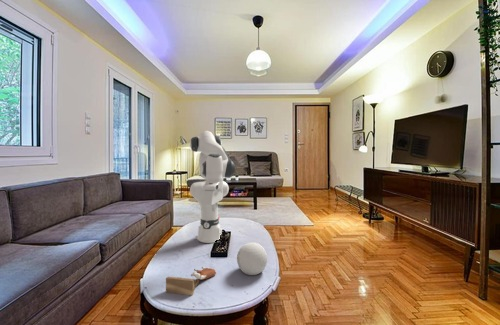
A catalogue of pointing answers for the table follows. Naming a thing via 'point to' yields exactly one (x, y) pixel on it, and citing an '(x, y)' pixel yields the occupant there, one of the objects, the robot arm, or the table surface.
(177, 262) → the table surface
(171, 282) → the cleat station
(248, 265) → the decorative object
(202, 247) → the table surface
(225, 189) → the robot arm
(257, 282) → the table surface
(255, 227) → the table surface
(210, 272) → the bull figurine
